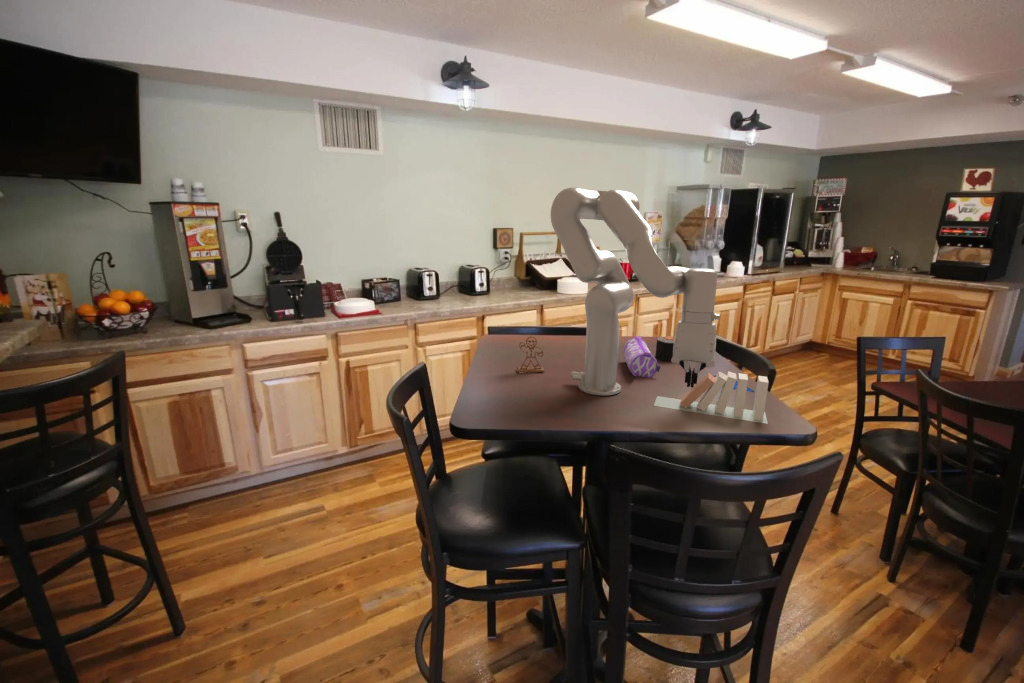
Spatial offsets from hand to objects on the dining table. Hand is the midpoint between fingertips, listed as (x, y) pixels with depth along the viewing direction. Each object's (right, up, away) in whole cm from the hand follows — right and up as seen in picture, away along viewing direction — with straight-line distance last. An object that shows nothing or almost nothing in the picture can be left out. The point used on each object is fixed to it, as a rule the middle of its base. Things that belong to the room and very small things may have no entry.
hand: (690, 385), depth 123 cm
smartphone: (+21, -2, +23) cm, 31 cm away
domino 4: (+11, -7, -3) cm, 13 cm away
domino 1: (-1, -5, +2) cm, 5 cm away
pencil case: (-4, +2, +36) cm, 37 cm away
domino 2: (+3, -5, 0) cm, 6 cm away
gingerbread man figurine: (-41, +1, +33) cm, 53 cm away
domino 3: (+7, -6, -2) cm, 9 cm away
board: (+5, -7, 0) cm, 9 cm away
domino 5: (+15, -7, -5) cm, 18 cm away
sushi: (+11, +5, +51) cm, 53 cm away
